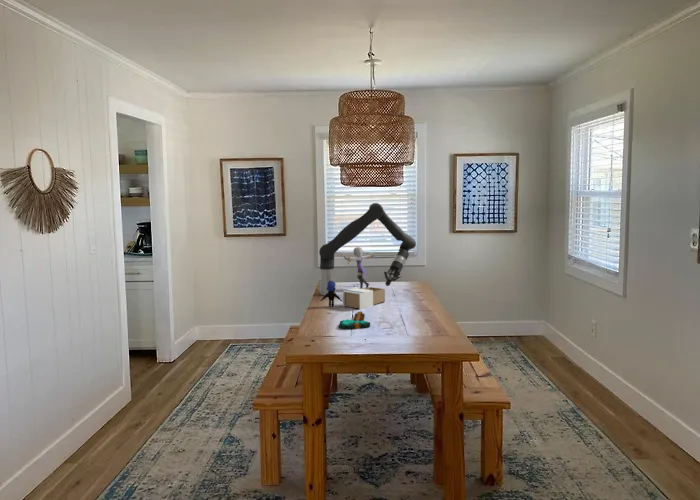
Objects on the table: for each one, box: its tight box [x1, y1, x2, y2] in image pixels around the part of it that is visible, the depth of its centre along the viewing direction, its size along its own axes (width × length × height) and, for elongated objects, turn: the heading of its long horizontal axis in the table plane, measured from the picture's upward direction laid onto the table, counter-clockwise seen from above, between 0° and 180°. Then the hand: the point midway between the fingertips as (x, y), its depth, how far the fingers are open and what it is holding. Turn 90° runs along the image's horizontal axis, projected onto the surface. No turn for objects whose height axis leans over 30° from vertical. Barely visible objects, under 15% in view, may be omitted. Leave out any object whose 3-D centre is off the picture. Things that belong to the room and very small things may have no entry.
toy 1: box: [320, 280, 343, 307], centre depth 330 cm, size 13×6×15 cm, turn 84°
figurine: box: [343, 246, 375, 289], centre depth 381 cm, size 17×21×30 cm
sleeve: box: [342, 287, 374, 310], centre depth 328 cm, size 12×14×10 cm
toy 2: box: [338, 311, 371, 330], centre depth 290 cm, size 16×3×30 cm
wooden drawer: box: [344, 286, 386, 309], centre depth 334 cm, size 24×11×8 cm, turn 139°
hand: (386, 285), depth 349 cm, fingers closed
